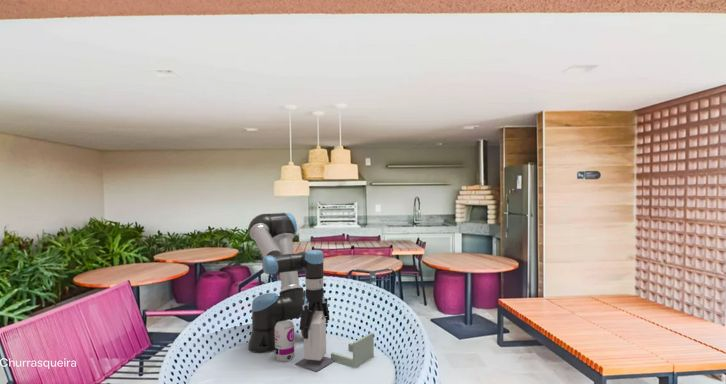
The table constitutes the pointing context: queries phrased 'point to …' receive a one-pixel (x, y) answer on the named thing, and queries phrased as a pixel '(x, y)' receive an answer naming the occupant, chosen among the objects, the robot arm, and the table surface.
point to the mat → (315, 363)
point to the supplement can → (284, 341)
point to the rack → (357, 352)
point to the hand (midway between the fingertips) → (315, 342)
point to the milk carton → (316, 337)
